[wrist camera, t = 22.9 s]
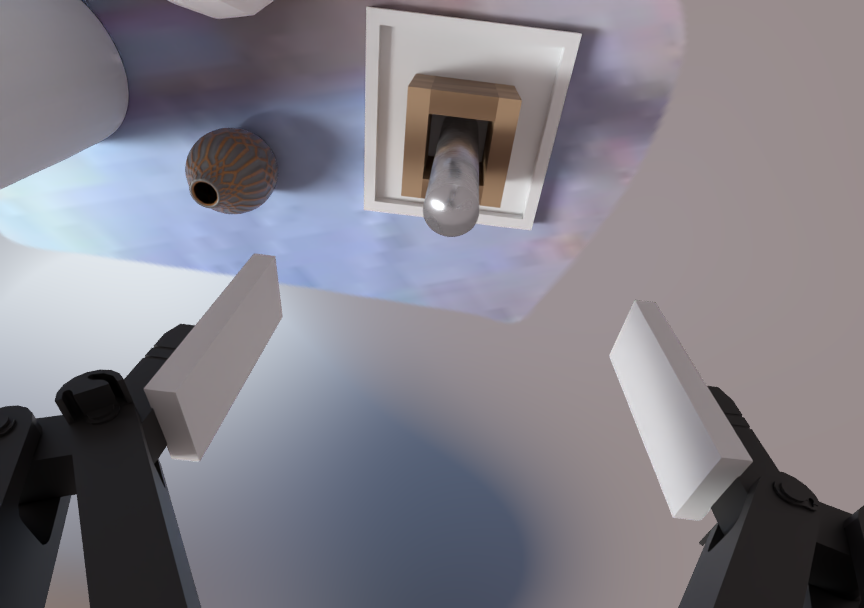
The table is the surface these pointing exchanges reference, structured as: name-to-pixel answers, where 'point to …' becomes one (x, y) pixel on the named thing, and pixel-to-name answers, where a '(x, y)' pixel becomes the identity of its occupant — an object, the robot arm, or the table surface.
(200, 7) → the cup
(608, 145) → the table surface
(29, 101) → the utensil holder
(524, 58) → the tray
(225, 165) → the vase
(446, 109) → the wooden square holder
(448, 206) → the pin
